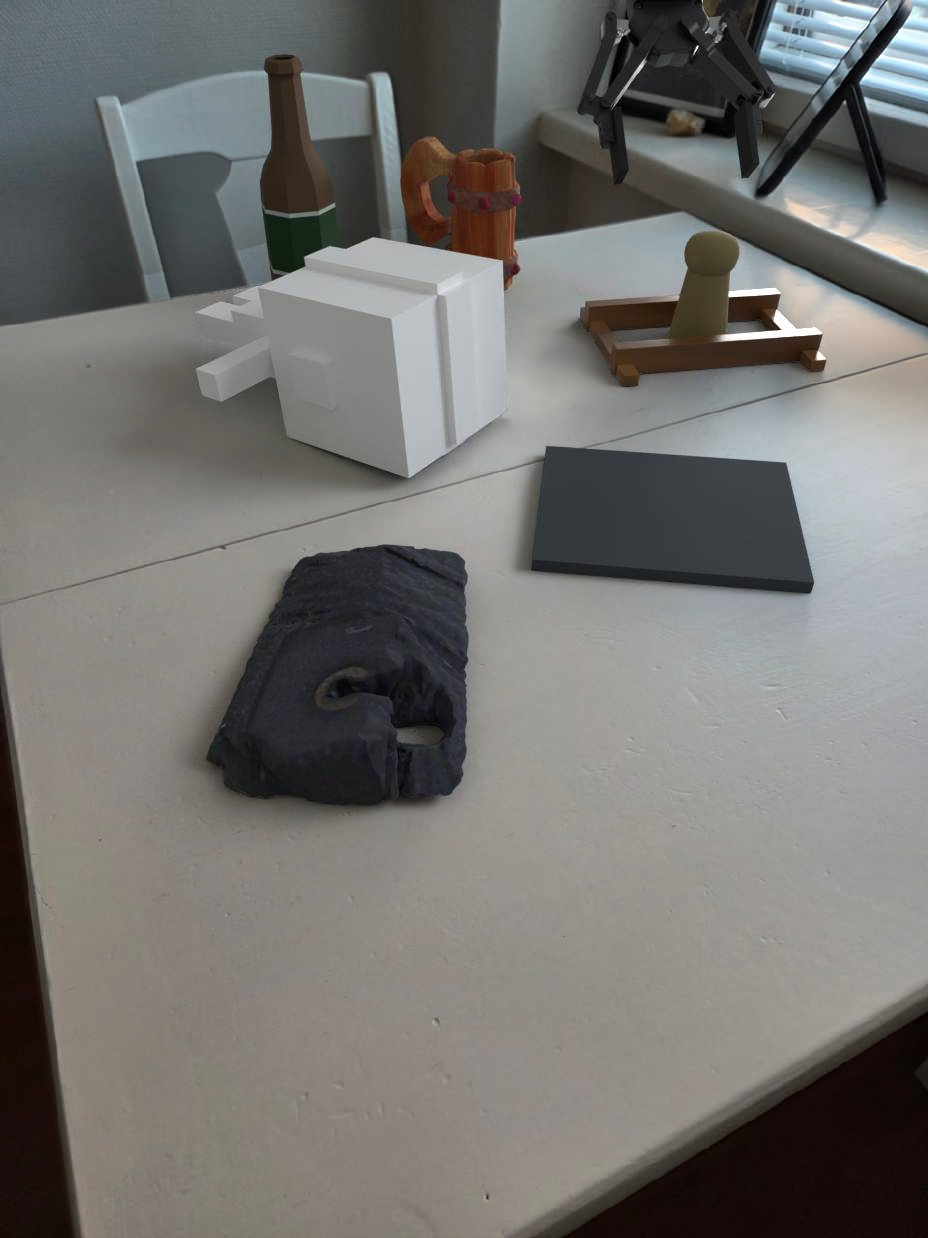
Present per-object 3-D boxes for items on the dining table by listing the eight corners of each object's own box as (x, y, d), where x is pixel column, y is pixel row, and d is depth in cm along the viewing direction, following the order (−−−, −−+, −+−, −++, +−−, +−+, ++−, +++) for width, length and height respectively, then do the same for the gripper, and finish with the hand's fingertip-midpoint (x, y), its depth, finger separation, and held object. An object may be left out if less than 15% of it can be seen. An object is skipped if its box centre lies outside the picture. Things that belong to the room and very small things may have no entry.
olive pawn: (699, 361, 95) (719, 250, 87) (654, 340, 98) (669, 232, 91) (738, 344, 98) (760, 235, 90) (692, 325, 101) (710, 218, 94)
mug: (534, 284, 109) (541, 143, 99) (500, 310, 104) (504, 163, 94) (427, 260, 115) (423, 124, 105) (389, 283, 110) (382, 142, 100)
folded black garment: (497, 576, 69) (499, 522, 66) (457, 822, 53) (457, 766, 49) (292, 558, 70) (285, 505, 67) (191, 793, 54) (174, 737, 51)
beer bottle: (319, 284, 109) (295, 44, 93) (358, 306, 105) (339, 58, 89) (260, 302, 105) (224, 55, 89) (298, 325, 101) (267, 69, 85)
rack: (577, 317, 103) (579, 292, 101) (761, 304, 105) (766, 279, 103) (620, 387, 91) (623, 359, 89) (826, 370, 93) (833, 343, 92)
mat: (783, 472, 80) (786, 462, 79) (811, 593, 68) (814, 582, 67) (545, 455, 81) (546, 445, 81) (531, 570, 70) (531, 559, 69)
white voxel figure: (330, 339, 102) (548, 396, 89) (145, 433, 88) (373, 520, 74) (307, 194, 93) (547, 232, 79) (97, 272, 78) (346, 336, 64)
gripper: (760, -4, 102) (786, 187, 101) (533, 2, 99) (558, 199, 98) (792, -58, 95) (821, 147, 93) (548, -54, 91) (575, 159, 90)
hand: (686, 174), depth 96 cm, fingers open, 13 cm apart
